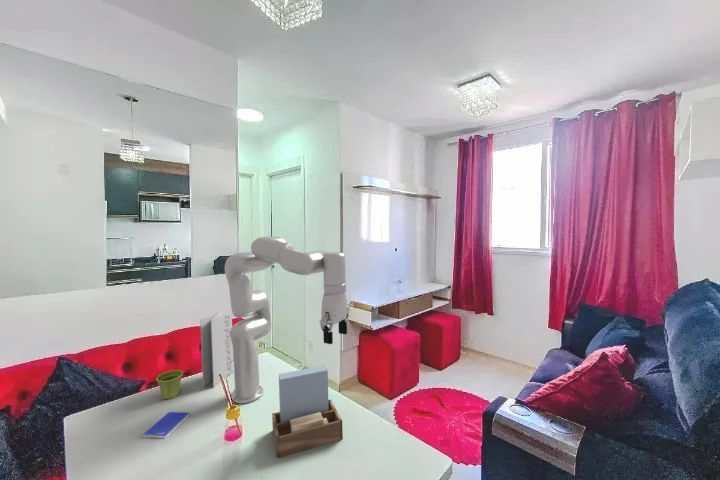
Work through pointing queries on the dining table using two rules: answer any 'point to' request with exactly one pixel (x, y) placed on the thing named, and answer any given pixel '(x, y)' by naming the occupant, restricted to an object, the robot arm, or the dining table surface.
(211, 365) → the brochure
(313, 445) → the brown wooden open box
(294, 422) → the offcut stack
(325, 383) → the panel
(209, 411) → the dining table surface
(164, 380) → the plant pot
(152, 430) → the hard drive
